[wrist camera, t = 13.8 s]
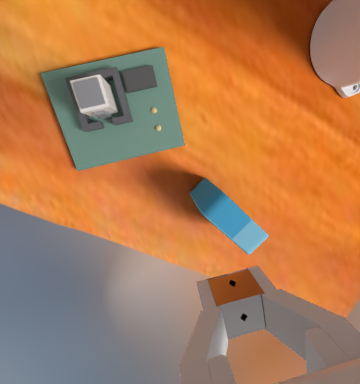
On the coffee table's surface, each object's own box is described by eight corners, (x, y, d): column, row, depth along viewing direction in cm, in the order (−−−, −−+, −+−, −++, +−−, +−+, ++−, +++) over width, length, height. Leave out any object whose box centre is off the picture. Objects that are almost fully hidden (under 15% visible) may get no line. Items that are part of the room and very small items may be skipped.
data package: (241, 212, 43) (272, 239, 31) (227, 226, 44) (252, 258, 32) (203, 175, 40) (221, 190, 28) (187, 192, 40) (200, 213, 29)
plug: (111, 87, 33) (98, 73, 26) (119, 115, 34) (110, 109, 27) (87, 92, 33) (68, 80, 26) (96, 120, 34) (80, 116, 27)
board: (163, 49, 33) (164, 40, 30) (184, 145, 38) (186, 145, 35) (44, 75, 32) (32, 69, 29) (80, 170, 37) (73, 172, 34)
